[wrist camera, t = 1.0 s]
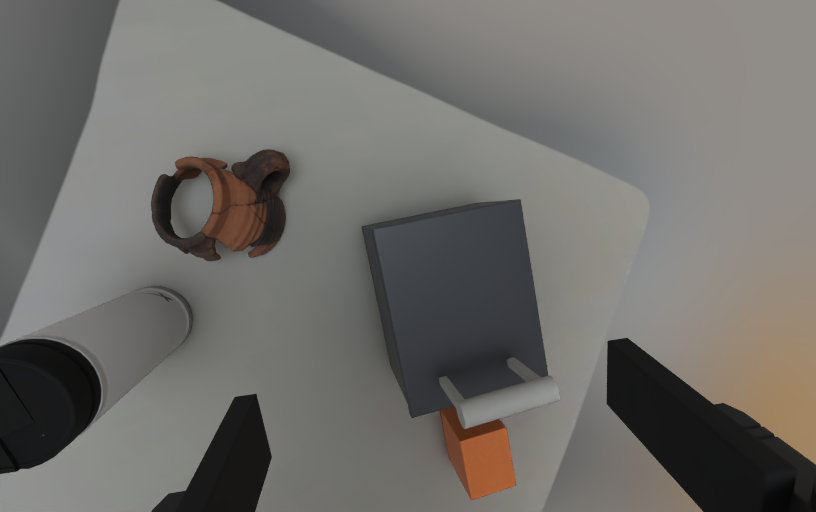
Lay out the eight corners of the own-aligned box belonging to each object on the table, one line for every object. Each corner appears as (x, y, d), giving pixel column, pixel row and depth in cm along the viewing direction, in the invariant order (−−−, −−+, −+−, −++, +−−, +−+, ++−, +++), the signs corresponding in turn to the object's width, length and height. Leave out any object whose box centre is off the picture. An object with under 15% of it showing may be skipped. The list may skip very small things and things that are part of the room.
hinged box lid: (543, 374, 37) (598, 414, 30) (409, 413, 35) (432, 466, 28) (515, 199, 35) (567, 195, 28) (371, 229, 33) (385, 233, 26)
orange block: (488, 446, 47) (516, 485, 40) (449, 458, 46) (471, 500, 39) (479, 396, 46) (506, 427, 39) (439, 407, 45) (459, 441, 39)
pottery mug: (249, 283, 41) (179, 283, 33) (199, 214, 43) (122, 199, 35) (333, 194, 39) (279, 172, 31) (275, 127, 41) (211, 90, 33)
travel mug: (172, 271, 39) (21, 328, 20) (204, 335, 40) (92, 448, 21) (103, 299, 38) (-127, 388, 19) (138, 363, 39) (-44, 511, 20)
